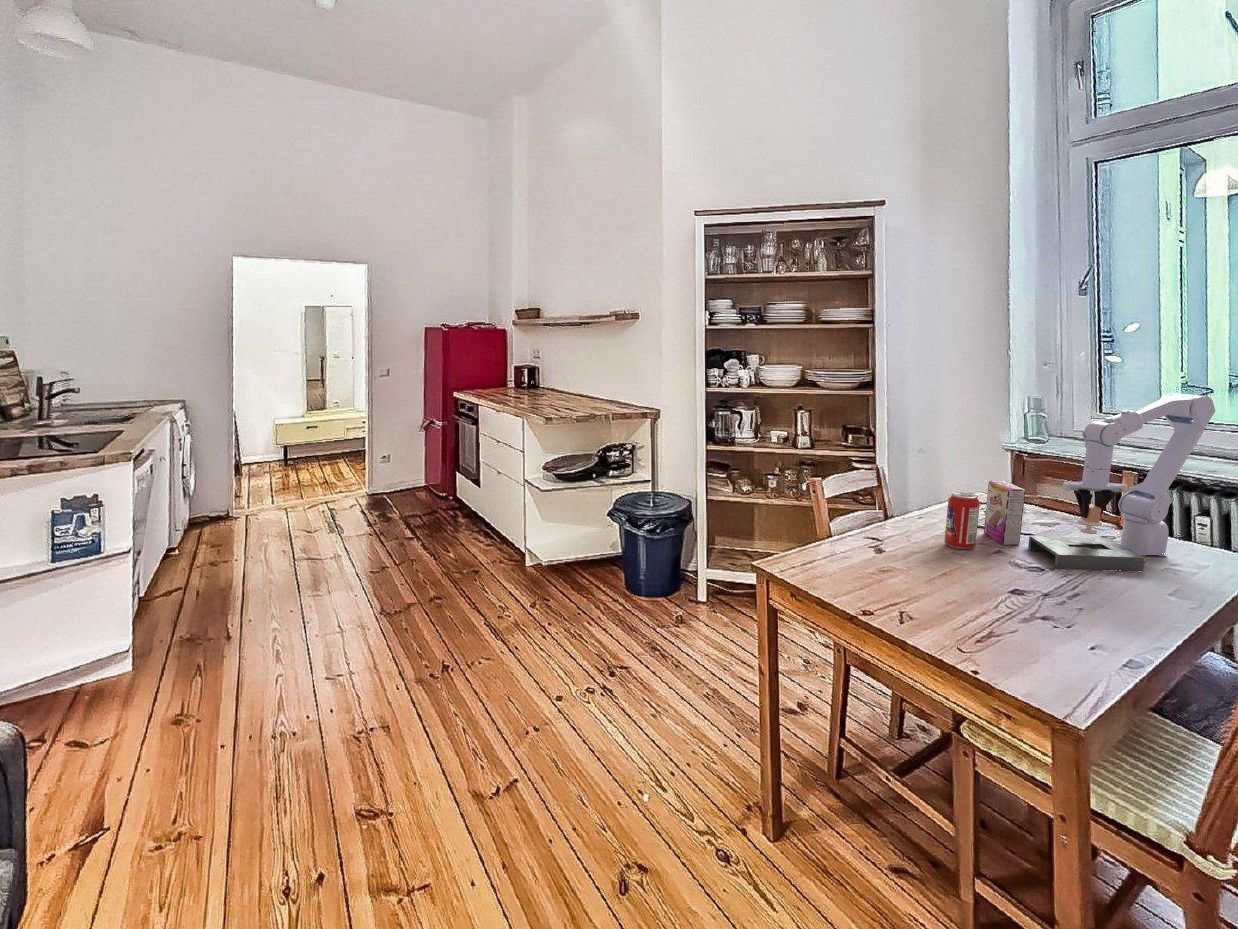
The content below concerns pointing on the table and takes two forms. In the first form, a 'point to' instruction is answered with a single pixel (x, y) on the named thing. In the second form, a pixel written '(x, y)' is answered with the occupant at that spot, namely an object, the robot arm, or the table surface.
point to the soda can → (962, 520)
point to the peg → (1091, 520)
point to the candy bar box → (1004, 512)
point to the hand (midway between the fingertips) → (1090, 517)
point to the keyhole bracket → (1088, 553)
